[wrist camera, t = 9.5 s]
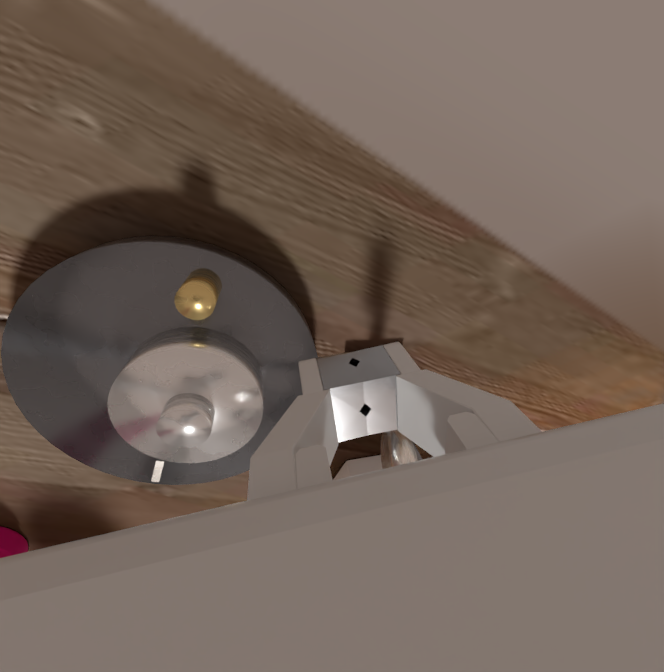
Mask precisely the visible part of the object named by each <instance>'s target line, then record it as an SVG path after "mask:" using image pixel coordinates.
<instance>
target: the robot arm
mask: <svg viewBox="0 0 664 672" xmlns="http://www.w3.org/2000/svg"><path fill="white" fill-rule="evenodd" d="M298 365H299V372H300V379H301V386H302V393H303V395H299V396H297V398H296V399H295V400H294V401H293V403H292V404H291V405H290V407H289V408H288V409H287V411H286V412H285V413H284V415H283V416H282V417H281V419H280V420H279V421H278V422H277V424H276V425H275V426H274V428H273V429H272V430H271V432H270V433H269V434H268V436H267V437H266V438H265V440H264V441H263V442H262V443H261V445H260V446H259V447H258V449H257V450H256V451H255V453H254V454H253V455H252V457H251V458H250V471H249V484H248V497H247V501H244V502H239V503H235V504H231V505H226V506H222V507H218V508H214V509H209V510H205V511H201V512H196V513H192V514H188V515H183V516H179V517H175V518H171V519H166V520H162V521H158V522H153V523H149V524H145V525H141V526H136V527H132V528H128V529H123V530H119V531H115V532H110V533H106V534H102V535H98V536H93V537H89V538H85V539H80V540H76V541H72V542H67V543H63V544H59V545H55V546H50V547H46V548H42V549H37V550H33V551H29V552H24V553H20V554H16V555H12V556H7V557H3V558H0V672H664V403H663V404H659V405H655V406H650V407H646V408H642V409H638V410H633V411H629V412H625V413H621V414H616V415H612V416H608V417H604V418H600V419H595V420H591V421H587V422H583V423H578V424H574V425H570V426H565V427H561V428H557V429H552V430H548V431H544V432H542V431H541V430H540V429H539V428H538V427H537V426H536V425H535V424H534V423H533V422H532V421H531V420H529V419H528V418H527V417H526V416H525V415H524V414H523V413H522V412H521V411H520V410H519V409H518V408H517V407H516V406H515V405H514V404H513V403H512V402H511V401H509V400H506V399H504V398H501V397H498V396H496V395H493V394H490V393H488V392H485V391H482V390H480V389H477V388H474V387H472V386H469V385H466V384H464V383H461V382H458V381H456V380H453V379H450V378H448V377H445V376H442V375H440V374H437V373H434V372H432V371H429V370H426V369H425V370H420V368H419V367H418V366H417V364H416V363H415V362H414V360H413V359H412V358H411V357H410V355H409V354H408V353H407V351H406V350H405V349H404V347H403V346H402V345H401V343H400V342H393V343H389V344H385V345H381V346H376V347H372V348H367V349H363V350H358V351H354V352H347V353H341V354H335V355H330V356H324V357H318V358H312V359H307V360H303V361H299V363H298ZM397 429H398V431H399V432H400V433H402V434H403V435H404V436H406V437H407V438H408V439H410V440H411V441H413V442H414V443H415V444H417V445H418V446H419V447H421V448H422V449H424V450H425V451H426V452H428V453H429V454H431V455H432V456H433V457H432V458H428V459H423V460H419V461H415V462H410V463H406V464H402V465H398V466H393V467H389V468H385V469H381V470H376V471H372V472H368V473H364V474H359V475H355V476H351V477H346V478H342V479H338V480H334V481H333V479H332V475H331V470H330V465H331V462H332V460H333V457H334V455H335V452H336V450H337V447H338V445H339V444H338V443H339V442H343V441H347V440H351V439H355V438H359V437H363V436H367V435H372V434H377V433H382V432H387V431H392V430H397Z"/></svg>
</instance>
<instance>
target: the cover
mask: <svg viewBox="0 0 664 672" xmlns="http://www.w3.org/2000/svg"><path fill="white" fill-rule="evenodd" d="M107 404H108V413H109V417H110V420H111V422H112V424H113V426H114V428H115V429H116V431H117V432H118V434H119V435H120V436H121V437H122V438H123V439H124V440H125V441H126V442H127V443H128V444H130V445H131V446H133V447H134V448H135V449H137V450H139V451H141V452H143V453H144V454H147V455H149V456H151V457H154V458H157V459H161V460H165V461H170V462H177V463H201V462H208V461H212V460H216V459H219V458H222V457H225V456H227V455H229V454H232V453H234V452H235V451H237V450H239V449H240V448H241V447H243V446H244V445H245V444H246V443H247V442H248V441H250V440H251V438H252V437H253V436H254V435H255V433H256V432H257V430H258V428H259V426H260V423H261V421H262V416H263V374H262V370H261V367H260V365H259V363H258V361H257V359H256V358H255V356H254V355H253V354H252V352H251V351H250V350H249V349H248V348H247V347H246V346H245V345H243V344H242V343H241V342H239V341H238V340H236V339H235V338H233V337H231V336H229V335H227V334H225V333H222V332H219V331H216V330H212V329H208V328H201V327H180V328H175V329H170V330H167V331H164V332H161V333H158V334H156V335H154V336H152V337H151V338H149V339H148V340H146V341H145V342H144V343H143V344H141V345H140V346H139V347H138V349H137V350H136V351H135V352H134V354H133V355H132V356H131V358H130V359H129V361H128V362H127V364H126V365H125V366H124V368H123V369H122V371H121V372H120V374H119V375H118V376H117V378H116V379H115V381H114V383H113V385H112V386H111V389H110V392H109V395H108V402H107Z"/></svg>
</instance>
